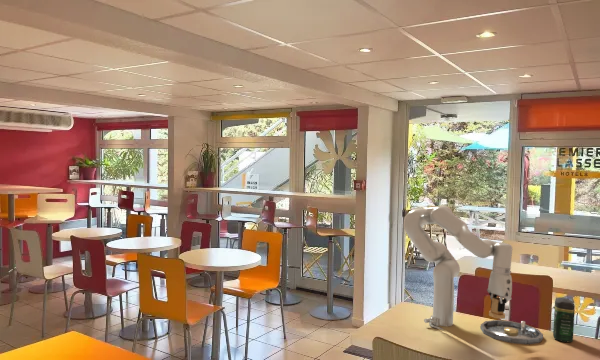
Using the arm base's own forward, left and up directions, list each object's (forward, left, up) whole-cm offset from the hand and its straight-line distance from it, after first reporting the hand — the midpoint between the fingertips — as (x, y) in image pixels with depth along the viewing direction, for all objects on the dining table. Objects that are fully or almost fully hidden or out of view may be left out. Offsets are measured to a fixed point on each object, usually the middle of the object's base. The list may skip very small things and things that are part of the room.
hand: (497, 309), depth 212 cm
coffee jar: (+30, -10, -13) cm, 34 cm away
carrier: (+8, -1, -13) cm, 15 cm away
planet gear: (0, 0, -3) cm, 3 cm away
